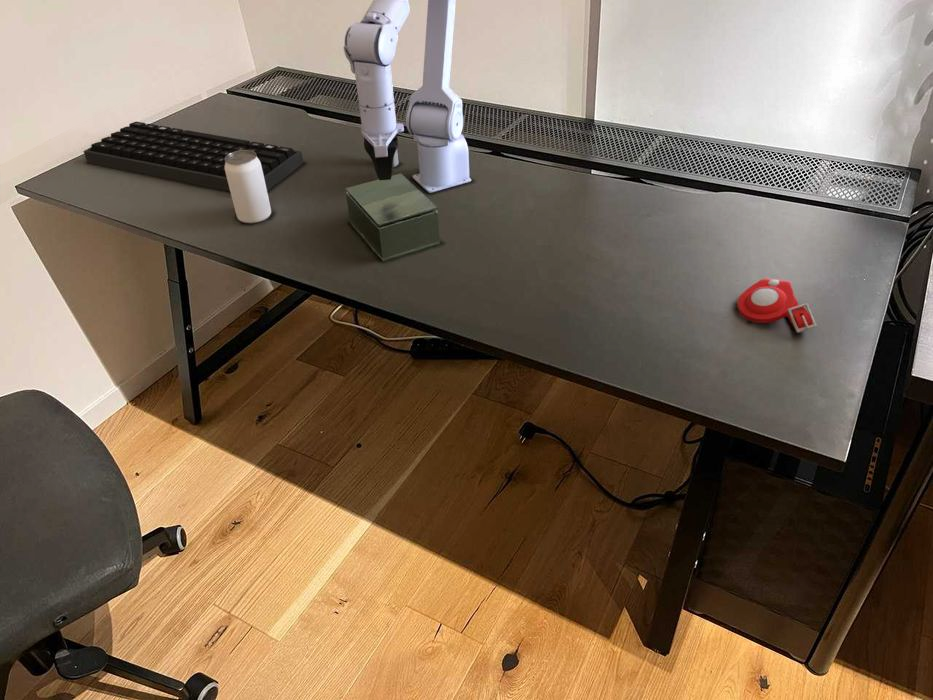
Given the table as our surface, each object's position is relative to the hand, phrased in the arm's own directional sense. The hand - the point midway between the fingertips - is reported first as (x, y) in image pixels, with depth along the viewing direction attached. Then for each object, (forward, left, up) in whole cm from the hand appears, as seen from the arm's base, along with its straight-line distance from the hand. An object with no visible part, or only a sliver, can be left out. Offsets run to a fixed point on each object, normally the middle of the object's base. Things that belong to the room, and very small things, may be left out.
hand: (385, 178), depth 132 cm
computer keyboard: (+25, -48, -10) cm, 55 cm away
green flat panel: (0, -2, -3) cm, 4 cm away
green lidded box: (0, +2, -10) cm, 10 cm away
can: (+20, -18, -10) cm, 29 cm away
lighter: (-10, -26, -10) cm, 30 cm away
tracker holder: (-39, +54, -10) cm, 67 cm away
